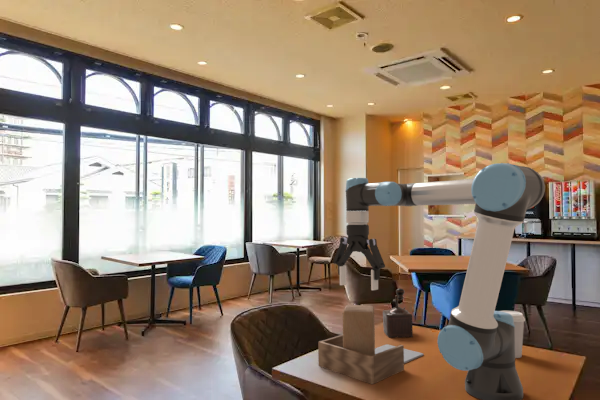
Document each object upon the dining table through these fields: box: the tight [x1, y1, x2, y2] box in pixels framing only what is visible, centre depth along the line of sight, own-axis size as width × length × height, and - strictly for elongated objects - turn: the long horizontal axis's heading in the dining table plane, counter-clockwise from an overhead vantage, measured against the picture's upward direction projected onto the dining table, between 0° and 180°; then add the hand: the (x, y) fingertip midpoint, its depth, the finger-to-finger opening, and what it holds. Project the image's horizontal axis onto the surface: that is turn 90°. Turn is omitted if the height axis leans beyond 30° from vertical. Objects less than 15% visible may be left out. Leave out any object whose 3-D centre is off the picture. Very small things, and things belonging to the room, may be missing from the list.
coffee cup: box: [499, 310, 526, 359], centre depth 153 cm, size 10×10×15 cm
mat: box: [375, 343, 424, 365], centre depth 155 cm, size 16×13×1 cm
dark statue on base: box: [382, 287, 414, 339], centre depth 184 cm, size 16×11×18 cm
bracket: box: [317, 334, 405, 385], centre depth 142 cm, size 23×17×8 cm
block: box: [342, 304, 376, 356], centre depth 142 cm, size 10×10×20 cm
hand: (358, 287), depth 143 cm, fingers open, 13 cm apart
